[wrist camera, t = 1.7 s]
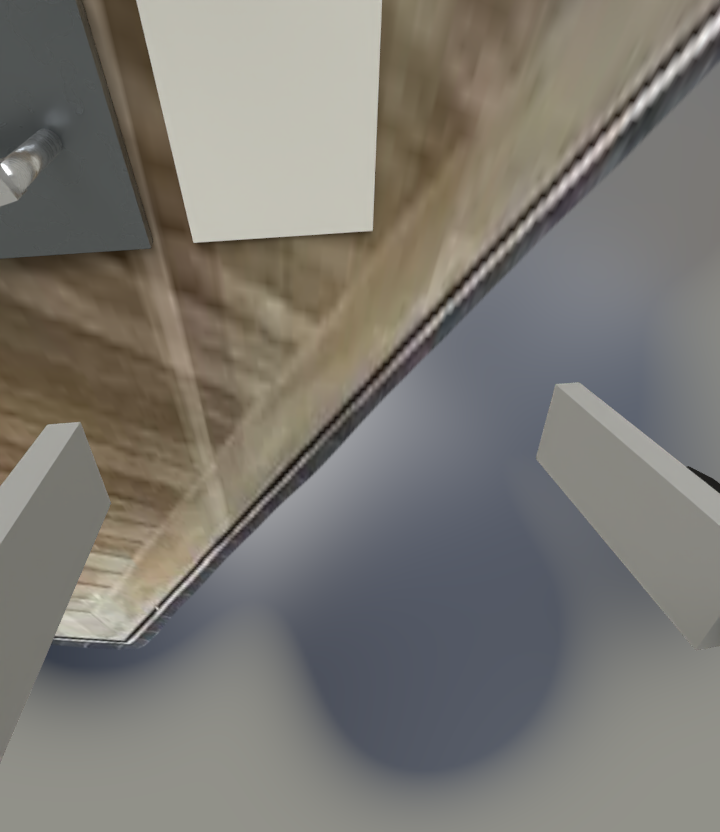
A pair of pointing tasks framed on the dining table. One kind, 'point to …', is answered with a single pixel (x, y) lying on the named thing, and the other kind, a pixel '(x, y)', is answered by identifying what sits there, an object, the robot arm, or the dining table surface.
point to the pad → (269, 112)
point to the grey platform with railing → (60, 139)
